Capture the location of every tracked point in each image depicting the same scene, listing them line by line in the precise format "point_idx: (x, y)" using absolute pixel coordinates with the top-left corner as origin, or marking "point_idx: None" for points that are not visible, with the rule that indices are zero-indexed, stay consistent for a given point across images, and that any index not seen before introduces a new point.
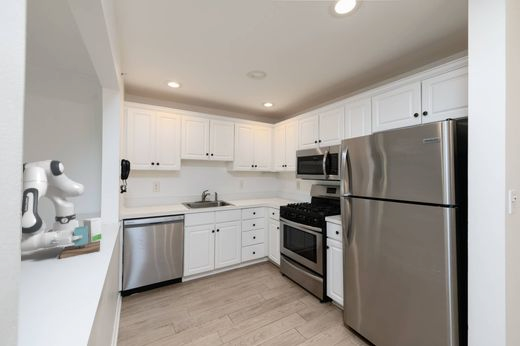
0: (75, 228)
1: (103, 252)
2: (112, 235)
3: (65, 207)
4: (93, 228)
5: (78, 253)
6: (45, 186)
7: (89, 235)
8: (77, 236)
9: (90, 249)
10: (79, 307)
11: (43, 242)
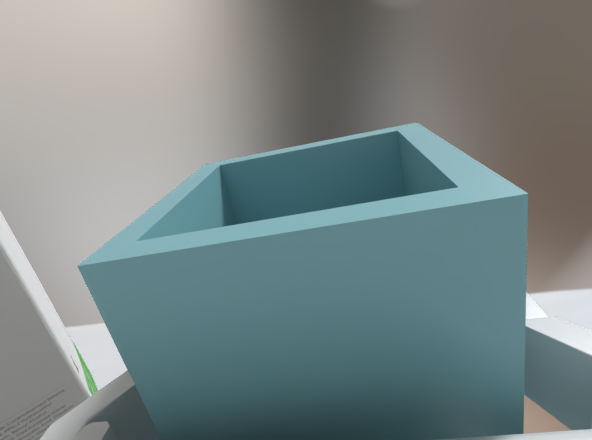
0: (281, 220)
1: (580, 319)
2: (75, 329)
3: None
4: (35, 289)
5: None
6: None
7: (47, 403)
8: (583, 342)
9: (528, 403)
10: None
11: None
